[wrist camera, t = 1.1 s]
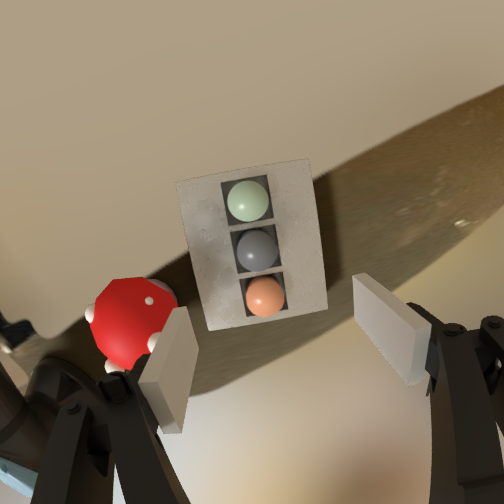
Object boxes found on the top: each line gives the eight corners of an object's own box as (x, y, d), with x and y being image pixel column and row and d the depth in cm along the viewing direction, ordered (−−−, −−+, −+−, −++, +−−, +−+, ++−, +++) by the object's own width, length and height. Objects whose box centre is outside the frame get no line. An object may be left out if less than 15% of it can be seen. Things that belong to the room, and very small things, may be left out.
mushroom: (113, 327, 36) (76, 376, 24) (118, 251, 34) (69, 281, 22) (187, 345, 37) (171, 404, 25) (199, 269, 35) (181, 310, 23)
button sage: (232, 222, 31) (231, 224, 29) (225, 184, 30) (224, 184, 28) (269, 215, 31) (271, 217, 29) (262, 178, 30) (264, 177, 28)
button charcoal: (240, 268, 32) (241, 274, 30) (234, 233, 31) (233, 236, 29) (277, 262, 32) (279, 267, 30) (271, 226, 31) (273, 229, 29)
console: (211, 318, 36) (208, 330, 33) (181, 182, 32) (175, 182, 29) (320, 297, 36) (327, 308, 33) (301, 161, 32) (308, 158, 29)
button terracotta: (249, 311, 33) (250, 319, 31) (242, 279, 32) (243, 285, 30) (283, 305, 33) (286, 313, 31) (278, 272, 32) (281, 278, 30)
